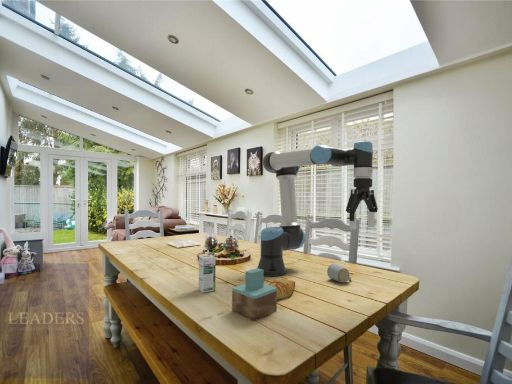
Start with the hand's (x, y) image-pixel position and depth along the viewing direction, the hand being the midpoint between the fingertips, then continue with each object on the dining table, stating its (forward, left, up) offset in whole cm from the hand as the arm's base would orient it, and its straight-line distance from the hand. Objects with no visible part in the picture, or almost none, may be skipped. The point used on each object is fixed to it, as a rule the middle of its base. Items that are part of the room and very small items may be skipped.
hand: (362, 227), depth 117 cm
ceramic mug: (-14, +8, -27) cm, 31 cm away
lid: (-19, -47, -22) cm, 55 cm away
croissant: (-23, -28, -27) cm, 45 cm away
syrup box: (-48, -46, -27) cm, 71 cm away
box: (-19, -47, -27) cm, 57 cm away
